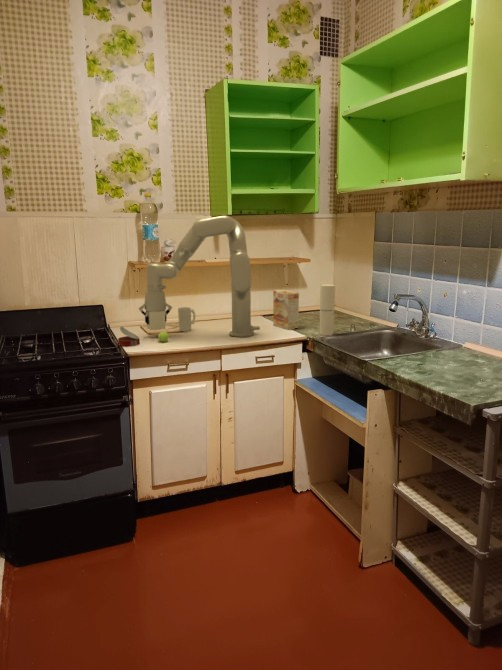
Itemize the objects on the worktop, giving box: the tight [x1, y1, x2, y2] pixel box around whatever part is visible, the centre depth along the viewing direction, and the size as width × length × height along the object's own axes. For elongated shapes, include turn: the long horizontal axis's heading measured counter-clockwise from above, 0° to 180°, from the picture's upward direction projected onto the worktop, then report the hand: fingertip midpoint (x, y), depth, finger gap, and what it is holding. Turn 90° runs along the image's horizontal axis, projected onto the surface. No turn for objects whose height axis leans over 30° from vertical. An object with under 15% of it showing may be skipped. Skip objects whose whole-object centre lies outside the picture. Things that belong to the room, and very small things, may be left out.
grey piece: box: [146, 310, 166, 331], centre depth 256 cm, size 8×8×9 cm
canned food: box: [117, 326, 141, 348], centre depth 242 cm, size 11×10×10 cm
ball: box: [157, 331, 170, 343], centre depth 246 cm, size 5×5×5 cm
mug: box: [177, 306, 196, 333], centre depth 271 cm, size 10×7×12 cm, turn 130°
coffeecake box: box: [272, 289, 300, 331], centre depth 276 cm, size 15×7×20 cm, turn 30°
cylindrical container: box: [318, 283, 336, 336], centre depth 258 cm, size 7×7×25 cm
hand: (155, 323), depth 257 cm, fingers closed on grey piece, 7 cm apart
